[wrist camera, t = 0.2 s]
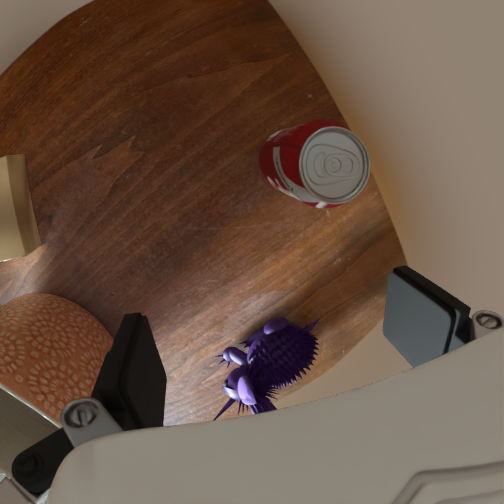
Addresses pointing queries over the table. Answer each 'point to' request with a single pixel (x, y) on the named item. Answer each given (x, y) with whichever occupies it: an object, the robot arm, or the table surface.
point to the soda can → (316, 163)
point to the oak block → (16, 210)
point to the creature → (268, 363)
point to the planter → (44, 367)
